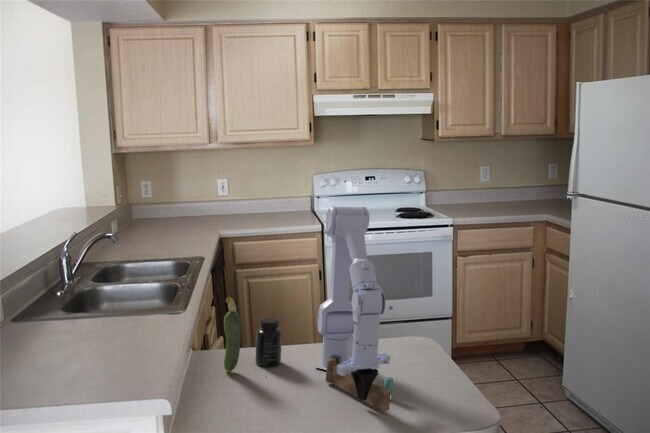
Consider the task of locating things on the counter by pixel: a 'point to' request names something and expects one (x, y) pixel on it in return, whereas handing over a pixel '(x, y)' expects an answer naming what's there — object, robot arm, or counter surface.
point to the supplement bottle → (268, 343)
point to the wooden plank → (376, 394)
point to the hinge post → (339, 358)
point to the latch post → (388, 384)
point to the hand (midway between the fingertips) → (362, 398)
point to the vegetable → (232, 336)
